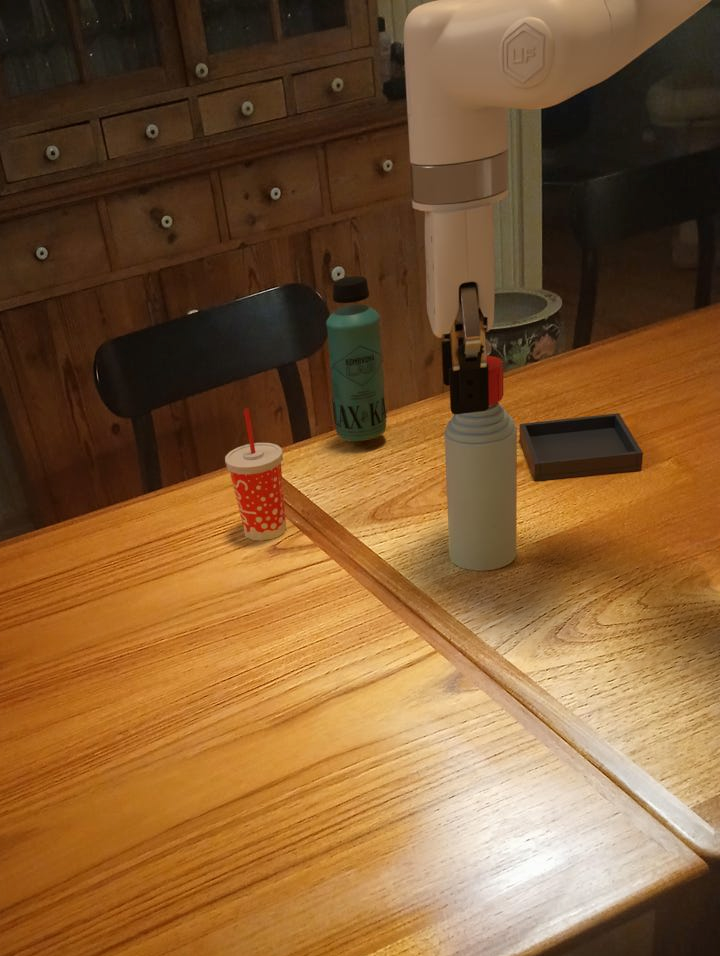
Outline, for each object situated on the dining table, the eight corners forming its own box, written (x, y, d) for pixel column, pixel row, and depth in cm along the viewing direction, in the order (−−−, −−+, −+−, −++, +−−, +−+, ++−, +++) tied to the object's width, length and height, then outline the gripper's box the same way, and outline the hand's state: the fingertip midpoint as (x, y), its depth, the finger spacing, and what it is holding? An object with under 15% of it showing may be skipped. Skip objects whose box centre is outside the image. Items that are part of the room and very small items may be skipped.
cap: (506, 403, 86) (506, 368, 84) (460, 410, 86) (459, 374, 84) (498, 387, 89) (498, 353, 87) (453, 393, 90) (452, 359, 88)
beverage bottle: (327, 442, 125) (309, 281, 114) (373, 427, 127) (360, 267, 116) (352, 458, 120) (336, 291, 109) (399, 442, 121) (388, 276, 110)
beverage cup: (232, 525, 110) (211, 406, 102) (285, 512, 110) (268, 393, 103) (244, 549, 105) (223, 425, 97) (299, 535, 105) (282, 412, 98)
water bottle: (511, 535, 99) (510, 354, 88) (521, 567, 93) (522, 379, 83) (446, 541, 100) (438, 363, 89) (453, 574, 94) (445, 388, 84)
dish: (618, 429, 115) (619, 412, 114) (641, 470, 106) (643, 452, 104) (519, 440, 117) (519, 423, 115) (534, 481, 107) (534, 463, 106)
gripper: (405, 169, 86) (416, 369, 96) (419, 210, 72) (430, 440, 82) (493, 155, 85) (495, 359, 95) (524, 194, 70) (523, 429, 80)
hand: (465, 395), depth 88 cm, fingers open, 6 cm apart
